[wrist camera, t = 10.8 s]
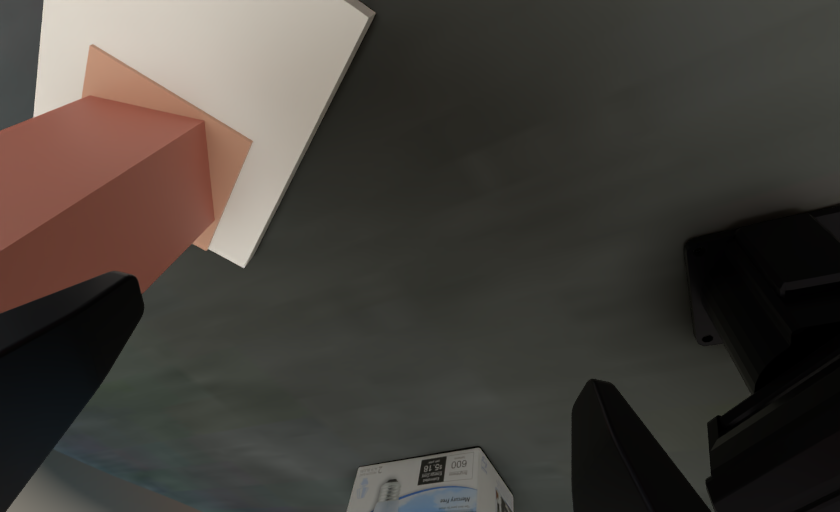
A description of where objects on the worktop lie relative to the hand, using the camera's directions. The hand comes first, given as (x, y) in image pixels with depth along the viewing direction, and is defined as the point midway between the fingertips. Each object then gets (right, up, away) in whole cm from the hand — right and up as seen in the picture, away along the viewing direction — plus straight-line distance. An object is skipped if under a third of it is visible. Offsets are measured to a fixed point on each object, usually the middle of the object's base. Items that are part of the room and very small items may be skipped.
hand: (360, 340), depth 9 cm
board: (-9, +9, +11) cm, 17 cm away
